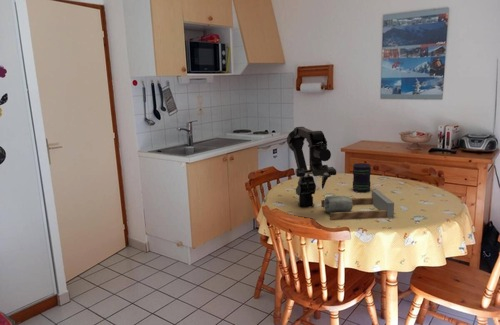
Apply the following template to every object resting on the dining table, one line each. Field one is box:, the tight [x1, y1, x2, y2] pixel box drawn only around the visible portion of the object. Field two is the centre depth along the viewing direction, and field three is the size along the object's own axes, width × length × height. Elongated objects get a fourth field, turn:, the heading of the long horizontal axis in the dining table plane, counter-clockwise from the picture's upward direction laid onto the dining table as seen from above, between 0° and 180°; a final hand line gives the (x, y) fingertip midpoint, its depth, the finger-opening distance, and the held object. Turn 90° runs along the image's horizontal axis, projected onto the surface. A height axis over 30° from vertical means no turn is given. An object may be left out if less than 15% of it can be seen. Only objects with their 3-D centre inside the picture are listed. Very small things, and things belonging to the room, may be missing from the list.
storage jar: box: [352, 163, 372, 194], centre depth 219 cm, size 10×10×15 cm
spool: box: [323, 195, 354, 214], centre depth 186 cm, size 14×10×10 cm
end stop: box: [370, 189, 395, 219], centre depth 187 cm, size 3×22×7 cm, turn 1°
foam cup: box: [306, 165, 320, 191], centre depth 227 cm, size 10×9×13 cm
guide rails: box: [321, 197, 387, 221], centre depth 187 cm, size 26×21×3 cm
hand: (315, 189), depth 185 cm, fingers open, 6 cm apart
